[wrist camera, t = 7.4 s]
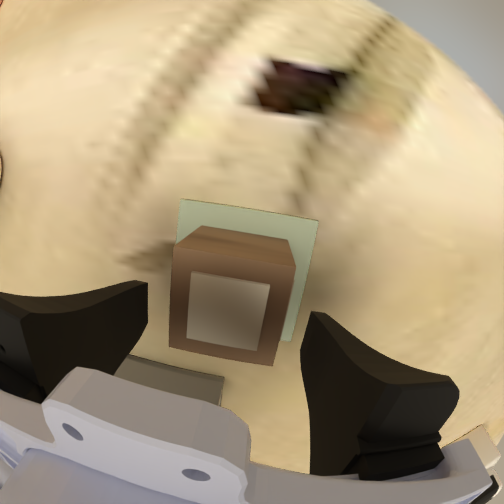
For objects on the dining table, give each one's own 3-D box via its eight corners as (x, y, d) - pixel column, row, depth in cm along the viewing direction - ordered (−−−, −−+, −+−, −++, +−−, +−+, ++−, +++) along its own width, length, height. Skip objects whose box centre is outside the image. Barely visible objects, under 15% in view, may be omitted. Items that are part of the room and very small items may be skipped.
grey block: (219, 410, 20) (208, 466, 14) (76, 367, 20) (43, 405, 15) (224, 377, 19) (210, 438, 13) (68, 333, 19) (29, 370, 13)
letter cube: (274, 317, 17) (276, 369, 12) (193, 302, 17) (167, 348, 12) (291, 240, 16) (301, 269, 11) (201, 225, 16) (171, 247, 11)
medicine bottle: (434, 467, 24) (455, 522, 12) (441, 447, 22) (469, 510, 10) (471, 446, 23) (497, 496, 11) (482, 423, 21) (515, 478, 9)
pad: (290, 338, 18) (290, 341, 17) (173, 318, 18) (171, 320, 18) (317, 220, 16) (318, 221, 15) (182, 198, 16) (180, 199, 15)
